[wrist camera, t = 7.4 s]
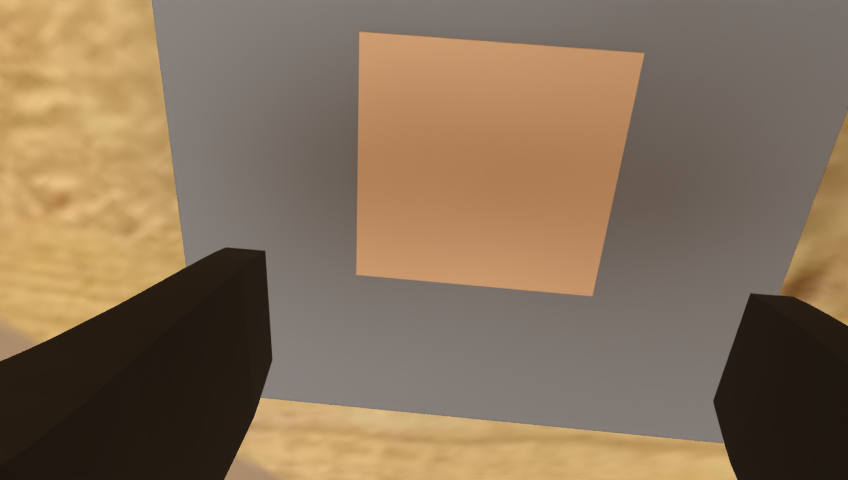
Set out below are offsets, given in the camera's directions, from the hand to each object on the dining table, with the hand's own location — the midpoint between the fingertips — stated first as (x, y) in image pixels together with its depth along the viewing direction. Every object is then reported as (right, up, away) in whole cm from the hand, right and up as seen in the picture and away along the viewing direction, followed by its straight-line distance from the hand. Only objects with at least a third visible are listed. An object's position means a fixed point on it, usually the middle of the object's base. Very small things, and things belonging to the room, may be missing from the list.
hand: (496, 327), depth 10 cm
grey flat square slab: (+1, +4, +9) cm, 10 cm away
